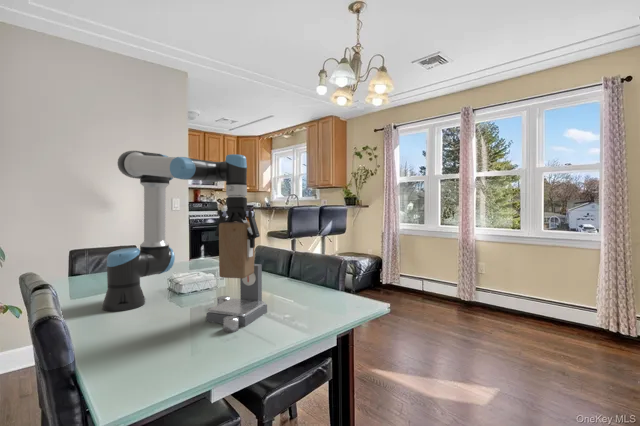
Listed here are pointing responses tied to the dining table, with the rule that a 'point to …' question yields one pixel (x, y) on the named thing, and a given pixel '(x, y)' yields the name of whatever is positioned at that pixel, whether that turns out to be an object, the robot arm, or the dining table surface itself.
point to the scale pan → (237, 307)
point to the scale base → (246, 298)
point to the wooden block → (234, 250)
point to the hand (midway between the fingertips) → (237, 255)
